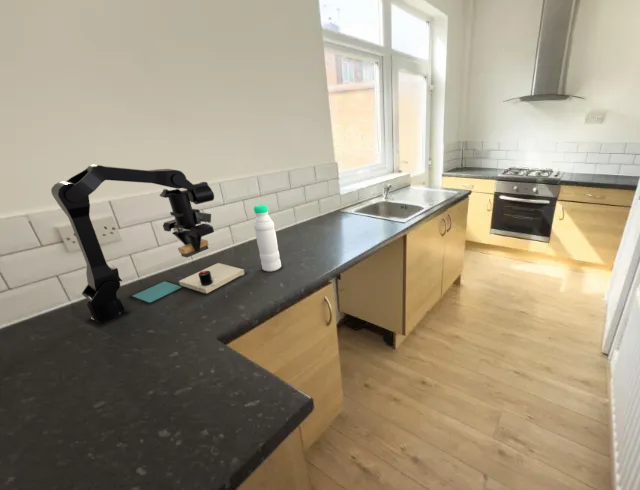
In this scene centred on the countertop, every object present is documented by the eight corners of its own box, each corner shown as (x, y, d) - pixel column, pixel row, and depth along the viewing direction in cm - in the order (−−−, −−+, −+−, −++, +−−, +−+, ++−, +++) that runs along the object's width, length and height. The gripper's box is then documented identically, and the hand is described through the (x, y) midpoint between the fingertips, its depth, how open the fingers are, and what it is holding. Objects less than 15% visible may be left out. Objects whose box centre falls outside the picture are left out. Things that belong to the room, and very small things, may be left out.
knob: (215, 282, 110) (212, 271, 108) (206, 286, 107) (202, 275, 105) (208, 280, 112) (205, 269, 110) (199, 284, 109) (195, 273, 107)
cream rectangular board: (206, 296, 105) (204, 290, 105) (177, 287, 112) (176, 281, 111) (246, 274, 119) (245, 269, 118) (219, 267, 125) (217, 262, 124)
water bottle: (284, 264, 126) (274, 203, 116) (277, 272, 120) (265, 208, 110) (267, 264, 127) (255, 203, 117) (259, 272, 121) (246, 208, 110)
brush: (186, 258, 109) (183, 249, 107) (180, 256, 110) (177, 247, 109) (209, 248, 116) (207, 240, 114) (203, 247, 117) (201, 238, 116)
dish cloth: (150, 303, 102) (149, 302, 102) (132, 296, 106) (131, 295, 106) (182, 287, 111) (182, 286, 111) (165, 282, 115) (164, 281, 115)
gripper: (221, 204, 109) (232, 246, 115) (186, 199, 116) (198, 238, 123) (191, 213, 100) (204, 258, 106) (155, 207, 107) (170, 249, 114)
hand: (194, 250), depth 113 cm, fingers closed on brush, 3 cm apart
